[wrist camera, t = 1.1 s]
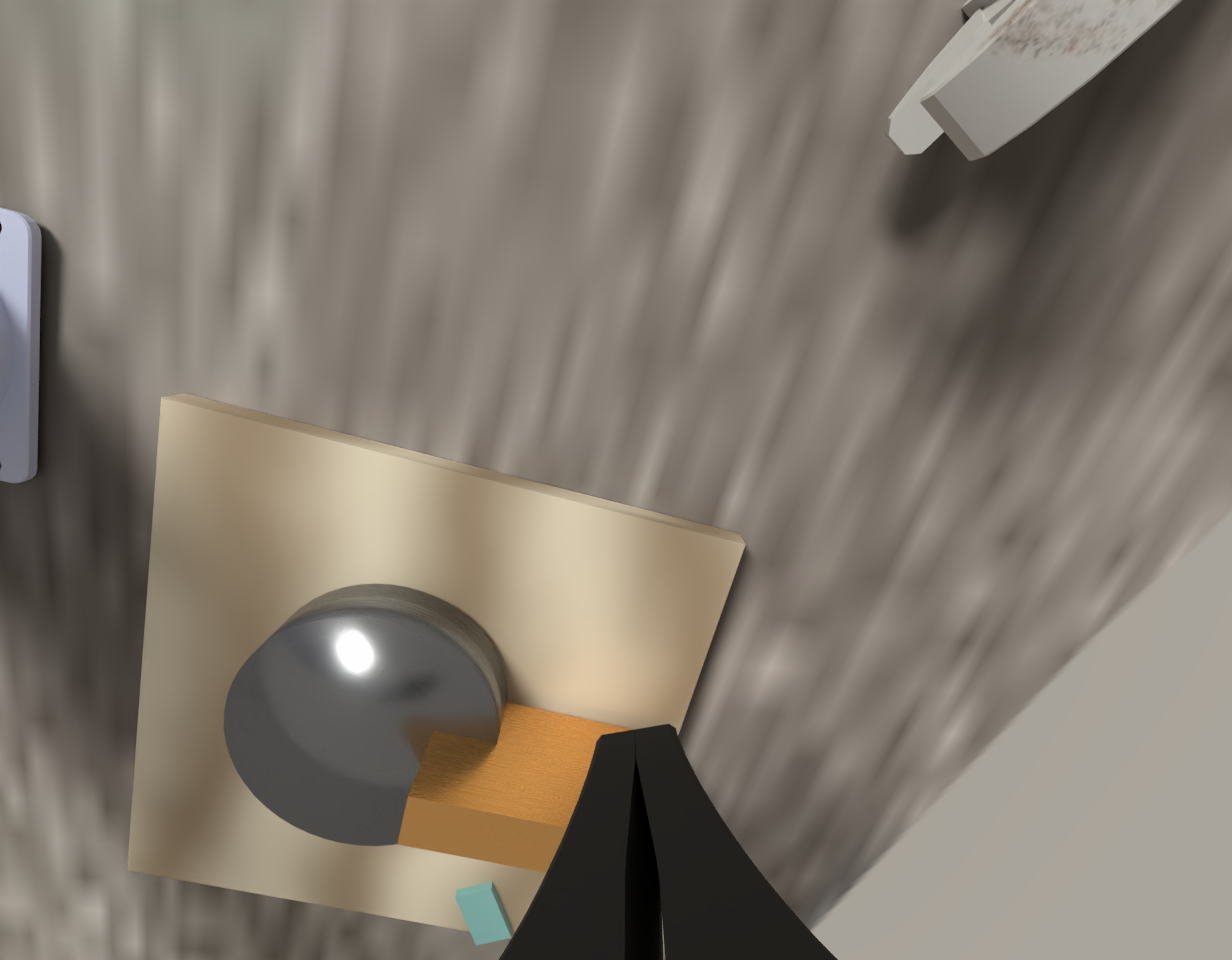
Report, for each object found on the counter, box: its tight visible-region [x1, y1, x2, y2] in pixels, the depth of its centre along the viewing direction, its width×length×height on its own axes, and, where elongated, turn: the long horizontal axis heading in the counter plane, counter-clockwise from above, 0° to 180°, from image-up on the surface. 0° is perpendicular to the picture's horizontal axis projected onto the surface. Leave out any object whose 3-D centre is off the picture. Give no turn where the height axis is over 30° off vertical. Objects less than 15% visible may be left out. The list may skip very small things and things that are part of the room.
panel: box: [127, 393, 746, 939], centre depth 21 cm, size 18×18×1 cm
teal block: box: [455, 882, 512, 946], centre depth 23 cm, size 2×1×1 cm, turn 15°
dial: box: [224, 584, 633, 873], centre depth 18 cm, size 13×8×5 cm, turn 75°
